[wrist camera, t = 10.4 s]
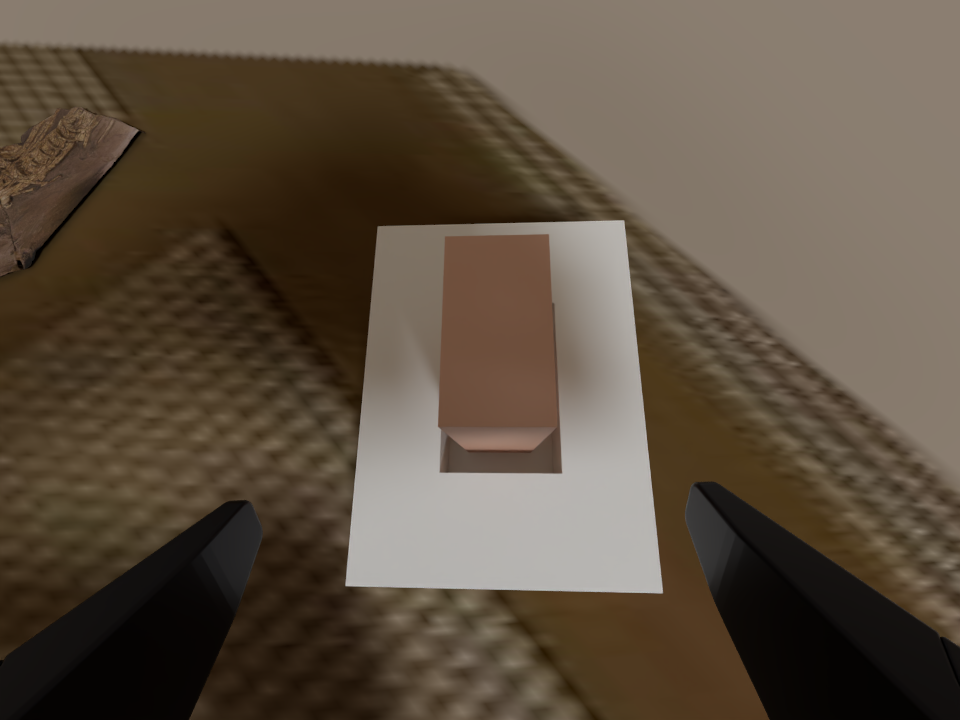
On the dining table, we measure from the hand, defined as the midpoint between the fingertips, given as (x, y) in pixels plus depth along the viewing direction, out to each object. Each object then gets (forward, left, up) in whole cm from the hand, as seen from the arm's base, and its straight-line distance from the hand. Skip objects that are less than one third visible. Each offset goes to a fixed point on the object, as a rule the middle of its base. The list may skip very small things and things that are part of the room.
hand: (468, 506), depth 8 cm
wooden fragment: (+27, +26, -13) cm, 39 cm away
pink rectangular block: (+4, -2, -11) cm, 12 cm away
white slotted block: (+4, -2, -12) cm, 13 cm away
